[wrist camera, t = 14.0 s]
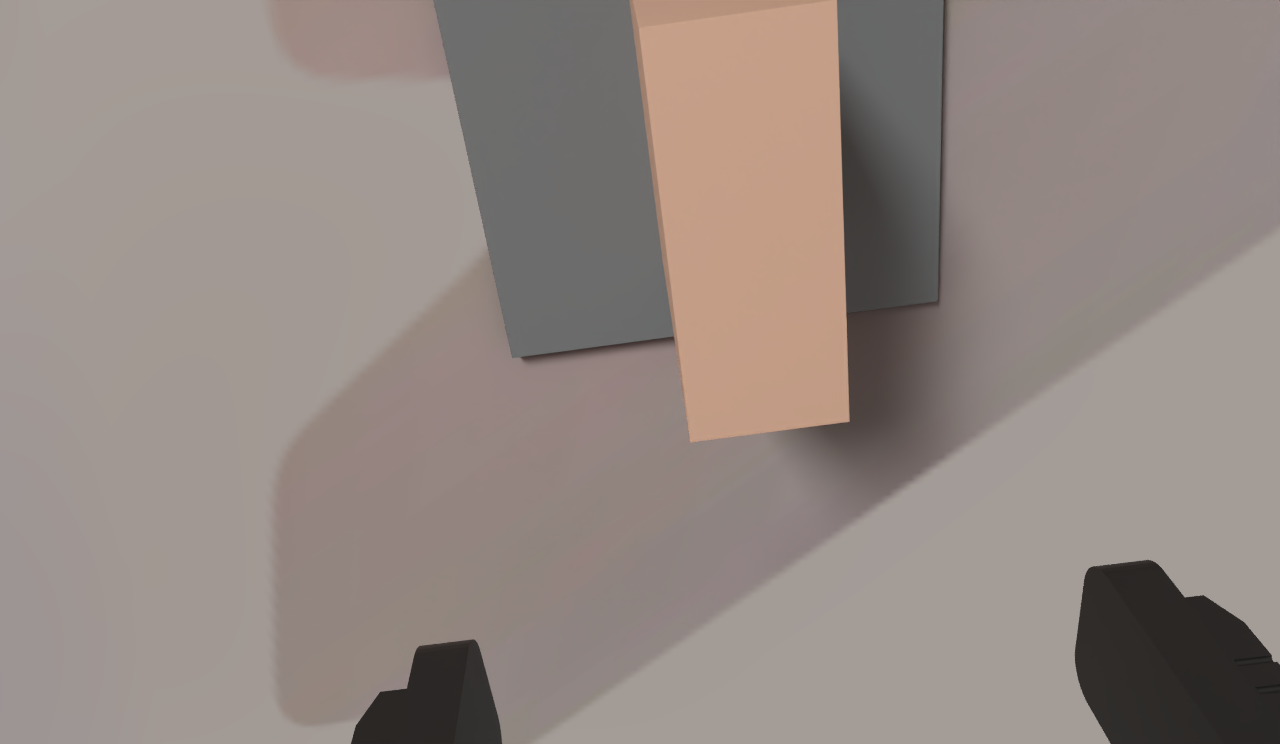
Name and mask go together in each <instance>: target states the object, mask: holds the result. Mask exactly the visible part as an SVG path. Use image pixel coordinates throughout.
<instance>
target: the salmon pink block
mask: <svg viewBox="0 0 1280 744" xmlns="http://www.w3.org/2000/svg"><path fill="white" fill-rule="evenodd" d="M629 1H630V9H631V17H632V25H633V32H634V40H635V48H636V56H637V64H638V72H639V79H640V87H641V95H642V103H643V111H644V119H645V127H646V134H647V142H648V150H649V158H650V166H651V174H652V182H653V189H654V197H655V205H656V213H657V221H658V229H659V237H660V244H661V252H662V260H663V267H664V273H665V280H666V287H667V293H668V300H669V306H670V313H671V319H672V326H673V332H674V339H675V345H676V352H677V358H678V365H679V372H680V378H681V385H682V391H683V398H684V404H685V411H686V417H687V424H688V430H689V437H690V442H696V441H704V440H712V439H720V438H727V437H735V436H743V435H750V434H758V433H766V432H774V431H781V430H789V429H797V428H804V427H812V426H820V425H828V424H835V423H843V422H850V420H849V387H848V354H847V321H846V288H845V254H844V221H843V188H842V155H841V121H840V88H839V55H838V22H837V0H629Z"/></svg>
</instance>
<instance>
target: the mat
mask: <svg viewBox="0 0 1280 744" xmlns="http://www.w3.org/2000/svg"><path fill="white" fill-rule="evenodd" d="M434 4H435V9H436V13H437V18H438V23H439V27H440V32H441V36H442V41H443V45H444V50H445V54H446V59H447V64H448V68H449V73H450V77H451V82H452V86H453V91H454V95H455V100H456V104H457V109H458V114H459V118H460V122H461V127H462V131H463V136H464V141H465V145H466V150H467V155H468V159H469V164H470V168H471V173H472V177H473V182H474V186H475V191H476V196H477V200H478V204H479V209H480V213H481V218H482V223H483V227H484V232H485V237H486V241H487V246H488V250H489V255H490V259H491V264H492V268H493V273H494V278H495V282H496V287H497V291H498V296H499V300H500V305H501V309H502V314H503V318H504V323H505V328H506V332H507V337H508V341H509V346H510V350H511V355H512V358H516V357H524V356H531V355H539V354H546V353H554V352H561V351H569V350H576V349H584V348H591V347H599V346H606V345H614V344H621V343H629V342H636V341H644V340H651V339H659V338H666V337H674V332H673V326H672V319H671V313H670V306H669V300H668V293H667V287H666V280H665V273H664V267H663V260H662V252H661V244H660V237H659V229H658V221H657V213H656V205H655V197H654V189H653V182H652V174H651V166H650V158H649V150H648V142H647V134H646V127H645V119H644V111H643V103H642V95H641V87H640V79H639V72H638V64H637V56H636V48H635V40H634V32H633V25H632V17H631V9H630V1H629V0H434ZM943 5H944V0H837V22H838V55H839V88H840V121H841V155H842V188H843V221H844V254H845V288H846V313H853V312H861V311H868V310H876V309H883V308H891V307H898V306H906V305H913V304H921V303H928V302H936V301H938V264H939V212H940V160H941V109H942V57H943Z"/></svg>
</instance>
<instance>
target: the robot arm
mask: <svg viewBox="0 0 1280 744" xmlns="http://www.w3.org/2000/svg"><path fill="white" fill-rule="evenodd" d="M1075 664H1076V671H1077V675H1078V680H1079V683H1080V687H1081V689H1082V692H1083V695H1084V697H1085V699H1086V701H1087V703H1088V705H1089V706H1090V708H1091V710H1092V712H1093V713H1094V715H1095V717H1096V719H1097V720H1098V722H1099V724H1100V726H1101V727H1102V729H1103V731H1104V733H1105V734H1106V736H1107V738H1108V739H1109V741H1110V743H1111V744H1280V665H1279V664H1278V662H1273V660H1272V655H1271V654H1270V653H1269V651H1268V650H1267V649H1266V648H1265V647H1264V646H1263V644H1262V643H1261V642H1260V641H1259V640H1258V638H1257V637H1256V636H1255V635H1254V634H1253V632H1252V631H1251V630H1250V629H1249V628H1248V626H1247V625H1246V624H1245V623H1244V622H1243V621H1241V620H1240V619H1238V618H1237V617H1235V616H1234V615H1232V614H1231V613H1229V612H1228V611H1226V610H1225V609H1223V608H1222V607H1220V606H1219V605H1217V604H1216V603H1214V602H1213V601H1211V600H1210V599H1208V598H1207V597H1205V596H1204V595H1203V596H1194V597H1186V598H1185V597H1184V596H1183V595H1182V594H1181V592H1180V591H1179V590H1178V588H1177V587H1176V586H1175V585H1174V583H1173V582H1172V581H1171V579H1170V578H1169V577H1168V576H1167V575H1166V573H1165V572H1164V571H1163V569H1162V568H1161V567H1160V566H1159V565H1158V564H1156V563H1155V562H1153V561H1151V560H1144V561H1136V562H1128V563H1120V564H1111V565H1103V566H1094V567H1091V568H1089V569H1088V571H1087V573H1086V575H1085V579H1084V586H1083V594H1082V602H1081V610H1080V617H1079V625H1078V633H1077V640H1076V648H1075ZM351 744H502V739H501V730H500V724H499V719H498V715H497V711H496V707H495V704H494V700H493V696H492V693H491V689H490V685H489V681H488V678H487V674H486V670H485V667H484V663H483V659H482V656H481V652H480V649H479V646H478V643H477V642H476V641H475V640H465V641H457V642H449V643H441V644H432V645H424V646H419V647H418V648H417V650H416V652H415V655H414V659H413V664H412V668H411V673H410V677H409V682H408V686H407V689H401V690H392V691H384V692H380V693H379V694H378V696H377V697H376V699H375V700H374V701H373V703H372V704H371V706H370V707H369V708H368V710H367V711H366V712H365V714H364V715H363V717H362V718H361V719H360V721H359V722H358V724H357V725H356V728H355V731H354V735H353V739H352V742H351Z"/></svg>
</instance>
